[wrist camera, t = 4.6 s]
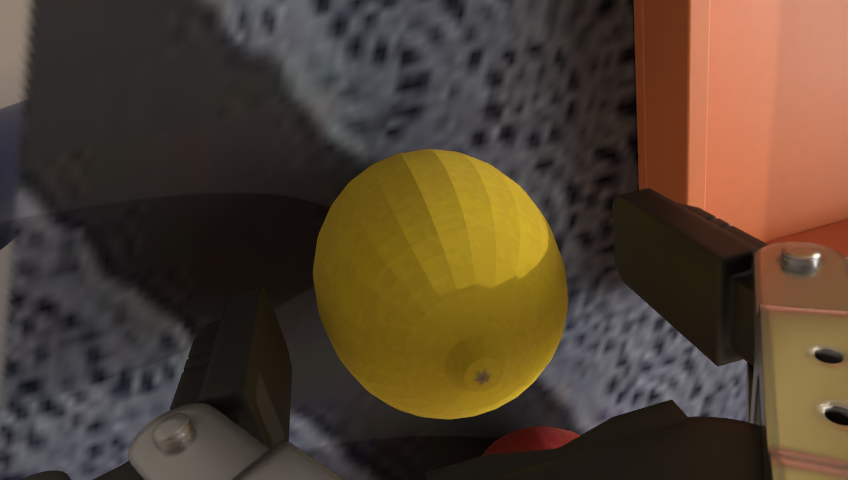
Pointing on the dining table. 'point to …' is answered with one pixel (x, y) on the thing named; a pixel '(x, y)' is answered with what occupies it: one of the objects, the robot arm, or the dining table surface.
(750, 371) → the robot arm
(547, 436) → the onion
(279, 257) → the dining table surface
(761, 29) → the terracotta tray
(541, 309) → the lemon
